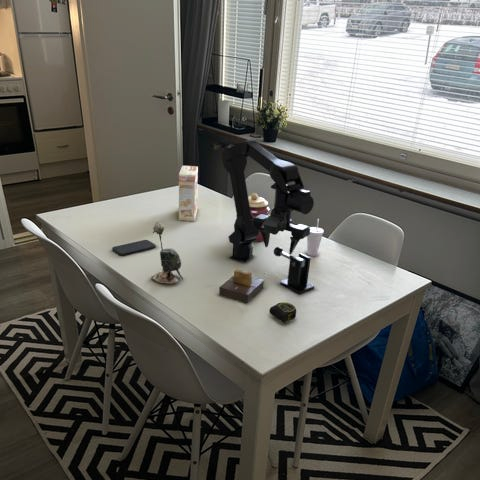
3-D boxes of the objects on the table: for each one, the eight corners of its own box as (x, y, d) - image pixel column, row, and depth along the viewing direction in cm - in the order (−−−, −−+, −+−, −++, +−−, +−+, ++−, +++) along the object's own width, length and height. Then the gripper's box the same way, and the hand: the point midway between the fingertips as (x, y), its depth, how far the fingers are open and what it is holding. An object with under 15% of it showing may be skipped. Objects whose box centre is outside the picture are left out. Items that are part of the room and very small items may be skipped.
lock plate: (247, 303, 157) (248, 294, 155) (219, 295, 160) (219, 286, 159) (263, 288, 166) (264, 279, 165) (236, 280, 170) (236, 272, 168)
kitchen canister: (230, 238, 202) (232, 194, 193) (242, 228, 212) (244, 186, 203) (260, 244, 198) (264, 200, 189) (271, 234, 208) (275, 191, 199)
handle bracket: (279, 284, 169) (283, 254, 164) (294, 279, 173) (298, 249, 168) (299, 295, 164) (303, 264, 158) (314, 289, 168) (318, 259, 162)
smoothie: (319, 258, 190) (325, 222, 182) (302, 256, 191) (307, 220, 183) (320, 251, 195) (326, 216, 188) (304, 249, 196) (308, 214, 189)
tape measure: (267, 315, 151) (268, 304, 149) (285, 310, 154) (286, 299, 153) (281, 326, 146) (283, 315, 144) (300, 320, 150) (301, 309, 148)
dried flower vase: (170, 290, 161) (169, 230, 151) (147, 278, 168) (145, 220, 158) (189, 282, 167) (189, 224, 156) (166, 271, 173) (165, 214, 163)
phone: (157, 245, 189) (121, 254, 181) (157, 247, 190) (121, 256, 181) (146, 239, 194) (110, 247, 185) (146, 241, 194) (111, 249, 186)
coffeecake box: (194, 221, 216) (195, 175, 206) (178, 220, 216) (177, 174, 206) (197, 209, 229) (198, 166, 219) (182, 208, 229) (181, 165, 219)
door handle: (271, 255, 171) (272, 246, 169) (278, 253, 173) (278, 244, 171) (299, 269, 163) (300, 260, 161) (305, 266, 165) (307, 257, 163)
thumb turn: (233, 282, 162) (234, 270, 160) (235, 280, 163) (236, 268, 161) (248, 286, 160) (249, 274, 158) (251, 284, 161) (251, 272, 159)
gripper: (244, 204, 160) (242, 250, 168) (297, 218, 152) (291, 266, 160) (262, 196, 168) (259, 240, 176) (313, 209, 160) (307, 254, 168)
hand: (278, 250), depth 170 cm, fingers open, 9 cm apart
